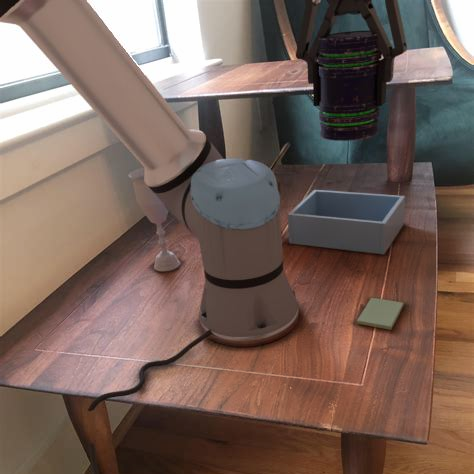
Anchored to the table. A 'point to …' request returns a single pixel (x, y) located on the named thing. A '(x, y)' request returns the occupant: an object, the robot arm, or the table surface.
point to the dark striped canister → (348, 85)
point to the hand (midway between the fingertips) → (349, 104)
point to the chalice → (154, 219)
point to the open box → (347, 221)
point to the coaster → (380, 313)
